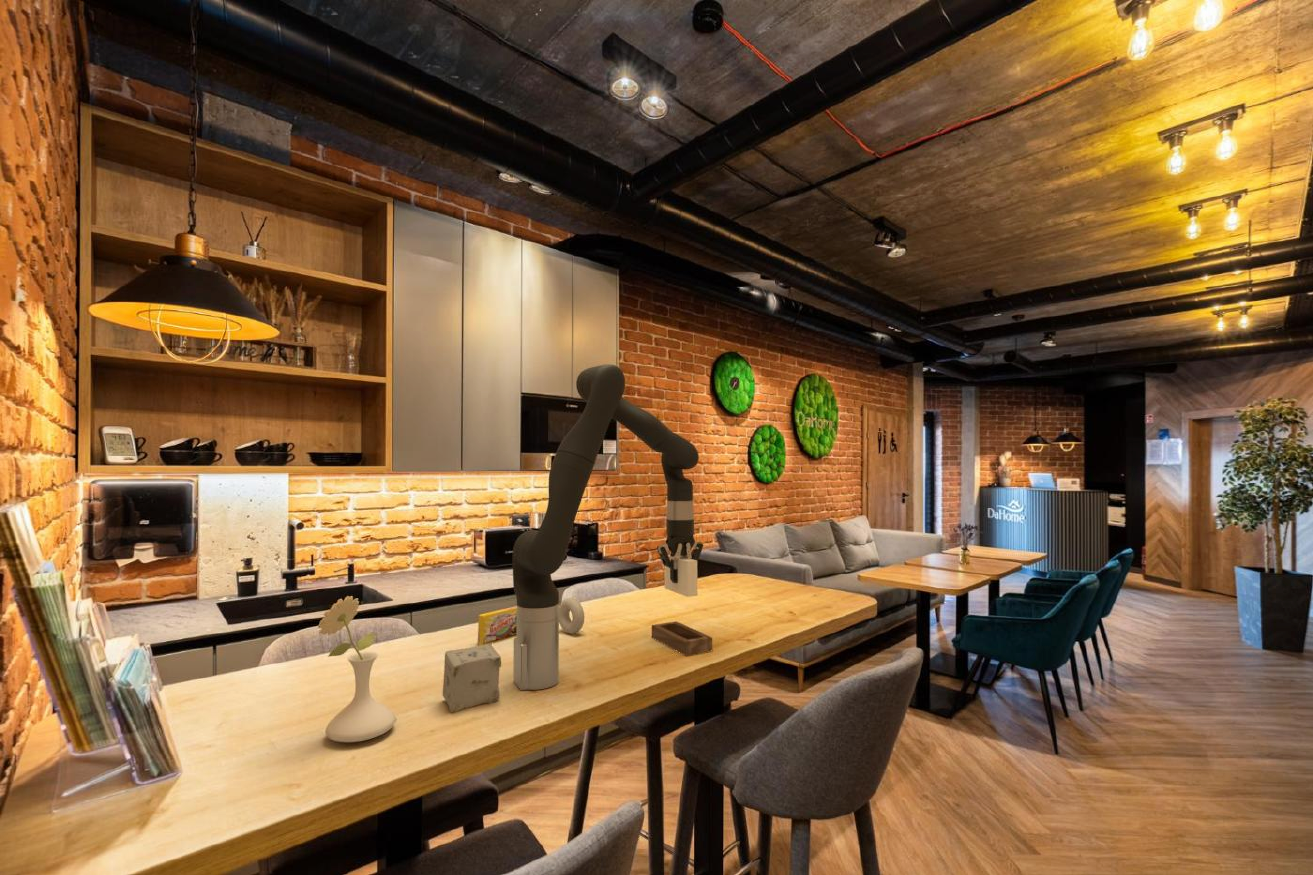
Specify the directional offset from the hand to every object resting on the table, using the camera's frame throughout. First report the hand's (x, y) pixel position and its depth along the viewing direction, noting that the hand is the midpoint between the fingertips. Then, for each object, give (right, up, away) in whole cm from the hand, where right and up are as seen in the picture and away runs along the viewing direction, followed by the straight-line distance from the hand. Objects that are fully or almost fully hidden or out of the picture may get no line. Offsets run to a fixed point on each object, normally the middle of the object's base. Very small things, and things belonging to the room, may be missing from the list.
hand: (680, 581), depth 159 cm
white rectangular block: (0, -3, 0) cm, 3 cm away
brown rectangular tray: (0, -17, -1) cm, 17 cm away
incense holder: (-44, -15, -39) cm, 61 cm away
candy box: (-49, -17, +4) cm, 52 cm away
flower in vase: (-60, -15, -53) cm, 82 cm away
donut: (-31, -17, +10) cm, 37 cm away
